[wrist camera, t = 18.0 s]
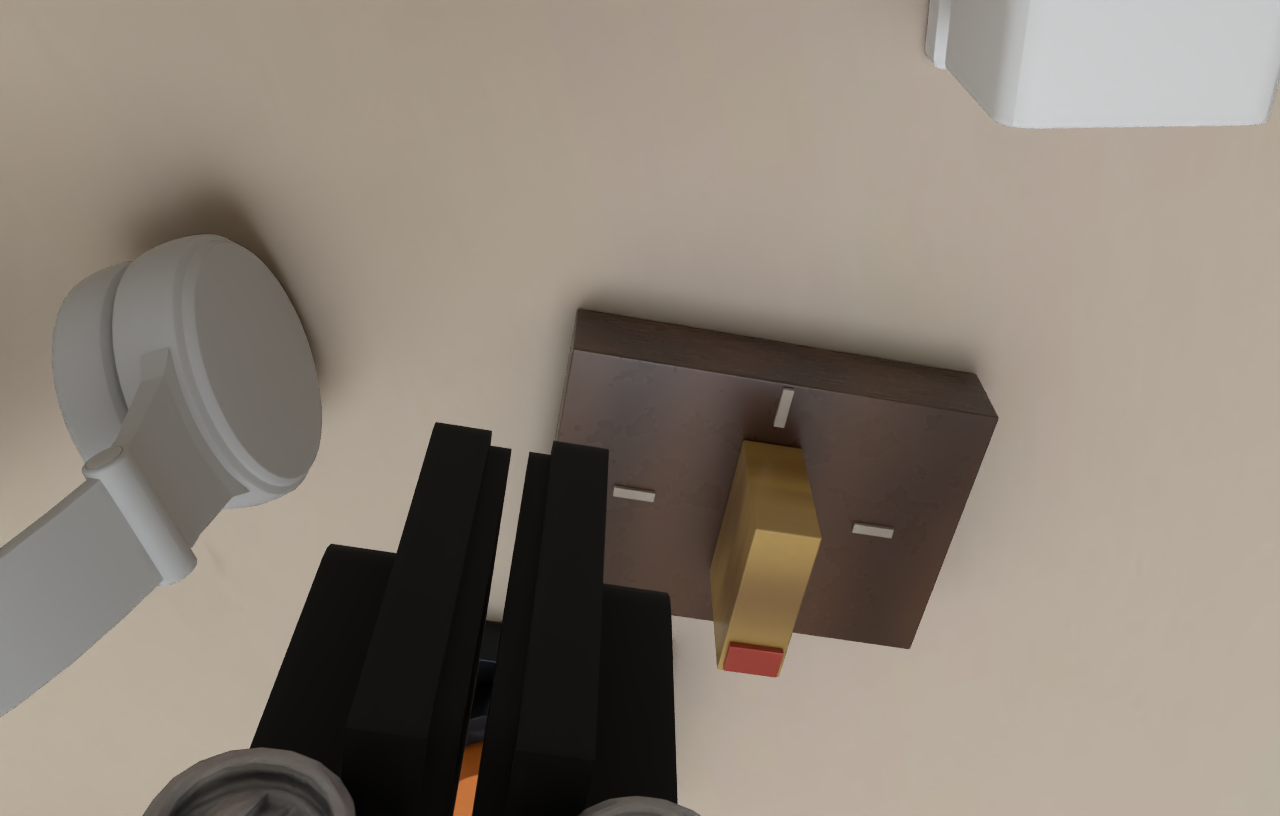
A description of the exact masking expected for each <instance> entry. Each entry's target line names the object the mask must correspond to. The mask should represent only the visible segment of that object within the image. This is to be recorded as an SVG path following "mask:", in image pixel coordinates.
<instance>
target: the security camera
mask: <svg viewBox="0 0 1280 816" xmlns="http://www.w3.org/2000/svg"><path fill="white" fill-rule="evenodd" d="M925 53H926V56H927V57H928V58H929V59H930V60H931V61H932V63H933V64H934V65H935V66H936V67H937V68H939V69H943V70H946V69H948V70H949V71H950V72H951V74H952V75H953V76H954V77H955V78H956V79H957V80H958V82H959V83H960V84H961V85H962V86H963V87H964V88H965V89H966V91H967V92H968V93H969V94H970V95H971V96H972V97H973V99H974V100H975V101H976V102H977V103H978V104H979V105H980V106H981V108H982V109H983V110H984V111H985V112H986V113H987V114H988V116H989V117H990V118H991V119H992V120H994V121H995V122H997V123H999V124H1002V125H1006V126H1010V127H1016V128H1029V129H1046V128H1111V127H1176V126H1242V125H1257V124H1262V123H1264V122H1266V121H1268V120H1269V118H1270V114H1271V110H1272V106H1273V102H1274V98H1275V94H1276V90H1277V86H1278V82H1279V78H1280V0H930V4H929V14H928V24H927V34H926V43H925Z"/></svg>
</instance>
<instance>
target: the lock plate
mask: <svg viewBox="0 0 1280 816" xmlns="http://www.w3.org/2000/svg"><path fill="white" fill-rule="evenodd" d="M997 421H998V416H997V414H996V412H995V410H994V408H993V406H992V404H991V402H990V400H989V398H988V396H987V394H986V392H985V390H984V388H983V386H982V384H981V382H980V380H979V378H978V376H977V375H975V374H969V373H963V372H957V371H951V370H945V369H939V368H933V367H927V366H921V365H915V364H909V363H903V362H897V361H891V360H885V359H879V358H873V357H867V356H861V355H854V354H848V353H842V352H836V351H830V350H824V349H818V348H812V347H806V346H800V345H794V344H788V343H782V342H776V341H770V340H764V339H758V338H752V337H746V336H740V335H734V334H727V333H721V332H715V331H709V330H703V329H697V328H691V327H685V326H679V325H673V324H667V323H661V322H655V321H649V320H643V319H637V318H631V317H625V316H619V315H613V314H607V313H601V312H594V311H588V310H582V309H578V310H577V314H576V320H575V325H574V331H573V337H572V343H571V349H570V355H569V360H568V366H567V372H566V378H565V384H564V389H563V395H562V401H561V407H560V413H559V419H558V424H557V430H556V436H555V441H560V442H567V443H573V444H580V445H586V446H593V447H599V448H605V449H608V450H609V463H608V485H607V507H606V529H605V552H604V574H603V583H605V584H611V585H618V586H625V587H632V588H639V589H646V590H653V591H660V592H667V593H668V594H669V596H670V602H671V615H675V616H682V617H689V618H696V619H703V620H710V621H714V620H713V608H712V595H711V583H710V567H711V563H712V559H713V556H714V552H715V548H716V544H717V540H718V536H719V532H720V529H721V525H722V521H723V517H724V513H725V509H726V505H727V501H728V498H729V494H730V490H731V486H732V482H733V478H734V474H735V471H736V467H737V463H738V459H739V455H740V451H741V447H742V444H743V441H744V440H747V441H754V442H760V443H767V444H773V445H780V446H786V447H793V448H799V449H802V451H803V456H804V460H805V465H806V469H807V474H808V478H809V483H810V487H811V492H812V497H813V501H814V506H815V510H816V515H817V519H818V524H819V529H820V533H821V538H822V540H821V543H820V546H819V549H818V552H817V556H816V559H815V562H814V565H813V568H812V572H811V575H810V578H809V581H808V584H807V588H806V591H805V594H804V597H803V601H802V604H801V607H800V610H799V613H798V617H797V620H796V623H795V626H794V629H793V633H800V634H807V635H814V636H821V637H828V638H835V639H842V640H849V641H856V642H863V643H870V644H877V645H884V646H891V647H898V648H905V649H910V647H911V644H912V642H913V639H914V637H915V634H916V632H917V629H918V626H919V624H920V621H921V619H922V616H923V613H924V611H925V608H926V606H927V603H928V600H929V598H930V595H931V593H932V590H933V587H934V585H935V582H936V580H937V577H938V574H939V572H940V569H941V567H942V564H943V561H944V559H945V556H946V554H947V551H948V548H949V546H950V543H951V541H952V538H953V535H954V533H955V530H956V528H957V525H958V522H959V520H960V517H961V515H962V512H963V510H964V507H965V504H966V502H967V499H968V497H969V494H970V491H971V489H972V486H973V484H974V481H975V478H976V476H977V473H978V471H979V468H980V465H981V463H982V460H983V458H984V455H985V452H986V450H987V447H988V445H989V442H990V439H991V437H992V434H993V432H994V429H995V426H996V424H997Z"/></svg>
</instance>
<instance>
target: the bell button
mask: <svg viewBox="0 0 1280 816" xmlns="http://www.w3.org/2000/svg"><path fill="white" fill-rule="evenodd" d="M482 746H483V741H482V742H478V743H474V744H470V745H468V746H466V747H465V750H464V756H463V762H462V768H461V774H460V779H459V785H458V791H457V797H456V803H455V808H454V814H453V816H472V811H473V804H474V798H475V792H476V785H477V779H478V772H479V766H480V759H481V753H482Z"/></svg>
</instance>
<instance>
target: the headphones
mask: <svg viewBox="0 0 1280 816" xmlns="http://www.w3.org/2000/svg"><path fill="white" fill-rule="evenodd" d="M52 368H53V375H54V383H55V389H56V393H57V397H58V402H59V406H60V409H61V412H62V415H63V418H64V421H65V424H66V426H67V429H68V431H69V433H70V435H71V438H72V440H73V442H74V444H75V446H76V448H77V450H78V451H79V453H80V455H81V457H82V458H83V460H84V462H85V464H84V466H83V468H82V473H83V475H84V476H85V478H86V479H87V480H86V481H85V482H84V483H83V484H81V485H80V486H79V487H78V488H76V489H75V490H74V491H73V492H72V493H70V494H69V495H68V496H67V497H65V498H64V499H63V500H62V501H61V502H59V503H58V504H57V505H56V506H54V507H53V508H52V509H51V510H49V511H48V512H47V513H46V514H44V515H43V516H42V517H41V518H39V519H38V520H37V521H35V522H34V523H33V524H31V525H30V526H29V527H27V528H26V529H25V530H24V531H22V532H21V533H20V534H18V535H17V536H16V537H14V538H13V539H12V540H10V541H9V542H8V543H7V544H5V545H4V546H3V547H1V548H0V717H2V716H3V715H5V714H6V713H8V712H9V711H11V710H12V709H14V708H15V707H16V706H18V705H19V704H20V703H22V702H23V701H24V700H26V699H27V698H28V697H29V696H31V695H32V694H33V693H35V692H36V691H37V690H38V689H40V688H41V687H42V686H44V685H45V684H46V683H48V682H49V681H50V680H51V679H53V678H54V677H55V676H57V675H58V674H59V673H60V672H62V671H63V670H64V669H66V668H67V667H68V666H70V665H71V664H72V663H73V662H75V661H76V660H77V659H78V658H79V657H80V656H81V655H83V654H84V653H85V652H86V651H87V650H88V649H89V648H90V647H92V646H93V645H94V644H95V643H96V642H97V641H98V640H99V639H101V638H102V637H103V636H104V635H105V634H106V633H107V632H109V631H110V630H111V629H112V628H113V627H114V626H115V625H116V624H118V623H119V622H120V621H121V620H122V619H123V618H124V617H125V616H126V615H127V614H128V613H130V612H131V611H132V610H133V609H134V608H135V607H136V606H137V605H138V604H139V603H140V602H141V601H142V600H143V599H144V598H145V597H146V596H147V595H148V594H149V593H150V592H151V591H153V590H154V589H155V588H156V587H157V586H168V585H172V584H174V583H176V582H178V581H180V580H182V579H183V578H185V577H186V576H188V575H189V574H190V573H191V572H192V571H193V569H194V568H195V566H196V564H197V558H196V557H195V555H194V553H193V552H192V550H191V547H193V545H194V544H195V542H196V540H197V538H198V537H199V535H200V534H201V533H202V531H203V530H204V529H205V528H206V527H207V526H208V525H209V524H210V523H211V521H212V520H213V519H214V518H215V517H216V516H217V514H218V513H219V512H220V511H221V510H222V508H223V509H233V508H242V507H249V506H255V505H260V504H264V503H267V502H269V501H272V500H274V499H277V498H279V497H281V496H283V495H286V494H287V493H289V492H291V491H293V490H295V489H296V488H297V487H298V486H299V485H300V484H301V483H302V482H303V480H304V478H305V477H306V475H307V473H308V471H309V469H310V467H311V465H312V464H313V462H314V460H315V458H316V455H317V452H318V449H319V444H320V439H321V429H322V405H321V396H320V388H319V382H318V377H317V372H316V368H315V364H314V360H313V356H312V353H311V350H310V346H309V343H308V340H307V337H306V335H305V332H304V330H303V327H302V324H301V322H300V320H299V318H298V316H297V313H296V311H295V309H294V307H293V305H292V303H291V302H290V300H289V298H288V296H287V294H286V293H285V291H284V289H283V288H282V286H281V285H280V283H279V282H278V280H277V279H276V278H275V276H274V275H273V274H272V272H271V271H270V270H269V269H268V267H267V266H266V265H265V264H264V263H263V262H262V261H261V260H260V259H259V258H258V257H256V256H255V255H254V254H253V253H252V252H250V251H249V250H247V249H245V248H244V247H242V246H240V245H238V244H236V243H234V242H232V241H231V240H229V239H227V238H225V237H222V236H218V235H215V234H202V235H194V236H187V237H182V238H178V239H175V240H172V241H169V242H166V243H164V244H161V245H159V246H156V247H154V248H152V249H150V250H148V251H146V252H145V253H143V254H142V255H140V256H139V257H138V258H137V259H135V260H134V261H129V262H123V263H119V264H116V265H113V266H110V267H107V268H105V269H102V270H100V271H97V272H95V273H93V274H91V275H89V276H88V277H86V278H84V279H83V280H82V281H80V282H79V283H78V284H77V285H75V286H74V287H73V288H72V289H71V291H70V292H69V293H68V295H67V296H66V297H65V299H64V301H63V303H62V305H61V307H60V310H59V312H58V315H57V319H56V323H55V327H54V333H53V342H52Z"/></svg>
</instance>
